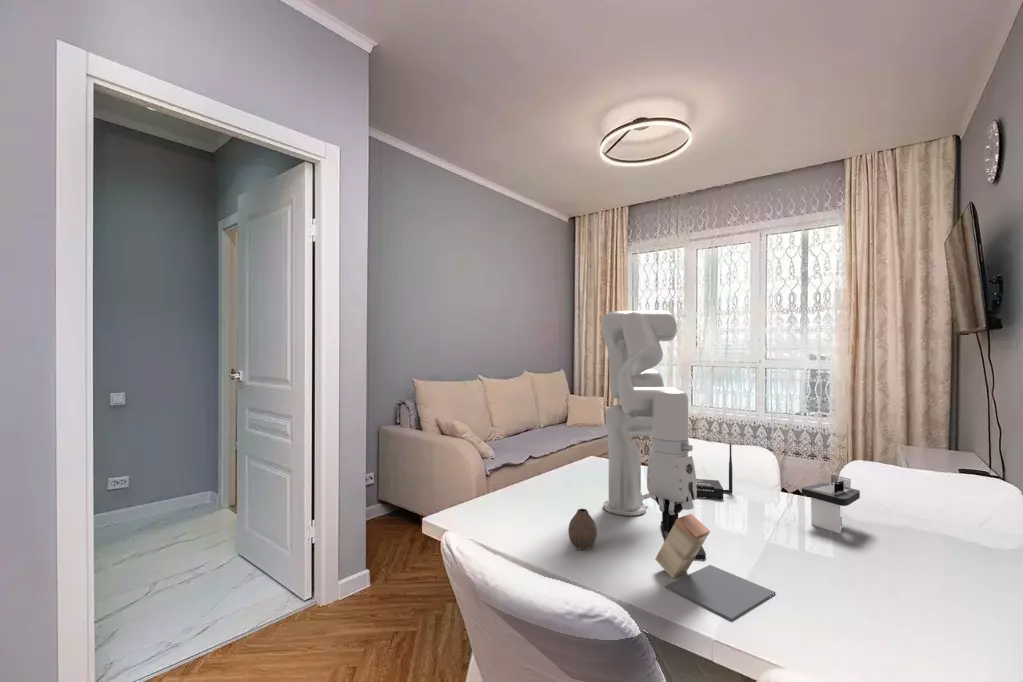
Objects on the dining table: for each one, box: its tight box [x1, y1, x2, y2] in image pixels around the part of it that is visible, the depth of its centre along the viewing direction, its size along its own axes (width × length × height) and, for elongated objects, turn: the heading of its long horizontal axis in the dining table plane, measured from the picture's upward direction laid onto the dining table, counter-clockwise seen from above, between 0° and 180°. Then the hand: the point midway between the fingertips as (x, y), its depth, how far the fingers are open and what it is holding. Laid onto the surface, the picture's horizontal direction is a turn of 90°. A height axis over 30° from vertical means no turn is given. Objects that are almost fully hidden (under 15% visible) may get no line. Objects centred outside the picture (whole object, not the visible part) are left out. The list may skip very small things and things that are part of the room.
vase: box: [567, 508, 598, 550], centre depth 113 cm, size 7×7×9 cm
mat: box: [664, 564, 776, 622], centre depth 92 cm, size 16×14×1 cm
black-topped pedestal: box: [801, 473, 861, 535], centre depth 127 cm, size 28×26×13 cm
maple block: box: [654, 513, 711, 579], centre depth 98 cm, size 5×5×12 cm
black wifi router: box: [696, 443, 734, 500], centre depth 156 cm, size 20×14×17 cm
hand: (670, 530), depth 101 cm, fingers closed
